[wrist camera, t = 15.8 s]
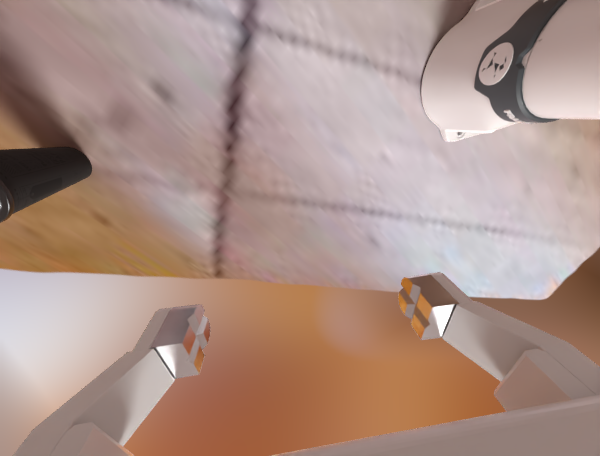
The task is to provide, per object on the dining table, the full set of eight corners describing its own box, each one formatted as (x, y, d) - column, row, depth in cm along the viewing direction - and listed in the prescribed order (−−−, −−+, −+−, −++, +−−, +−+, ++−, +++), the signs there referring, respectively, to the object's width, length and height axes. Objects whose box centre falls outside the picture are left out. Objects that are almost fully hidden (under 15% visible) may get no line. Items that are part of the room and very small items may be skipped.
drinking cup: (75, 128, 31) (-188, 148, 13) (113, 178, 34) (-52, 245, 17) (28, 146, 31) (-288, 188, 13) (71, 193, 35) (-133, 274, 17)
